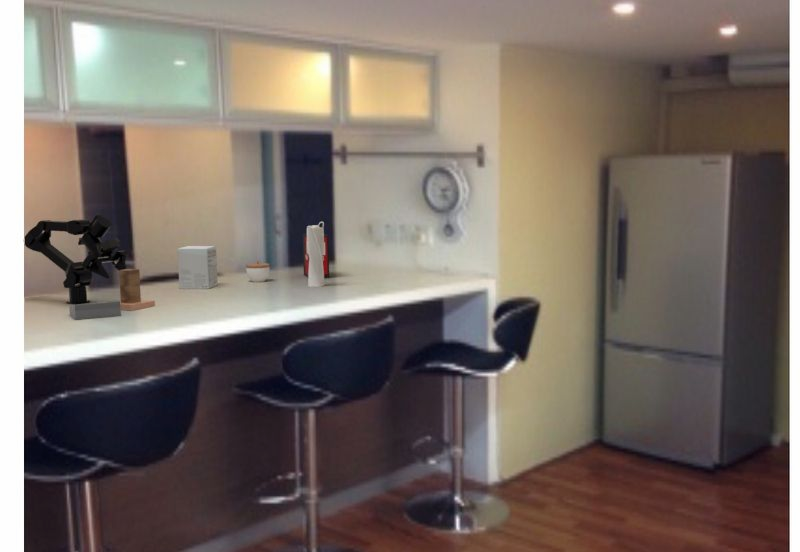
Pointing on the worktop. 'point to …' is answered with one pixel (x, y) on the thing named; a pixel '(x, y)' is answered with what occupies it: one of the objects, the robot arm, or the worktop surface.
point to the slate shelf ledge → (95, 310)
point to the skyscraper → (315, 255)
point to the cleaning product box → (324, 257)
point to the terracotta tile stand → (137, 305)
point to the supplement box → (197, 267)
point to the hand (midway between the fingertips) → (118, 276)
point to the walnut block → (130, 285)
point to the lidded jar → (258, 271)
